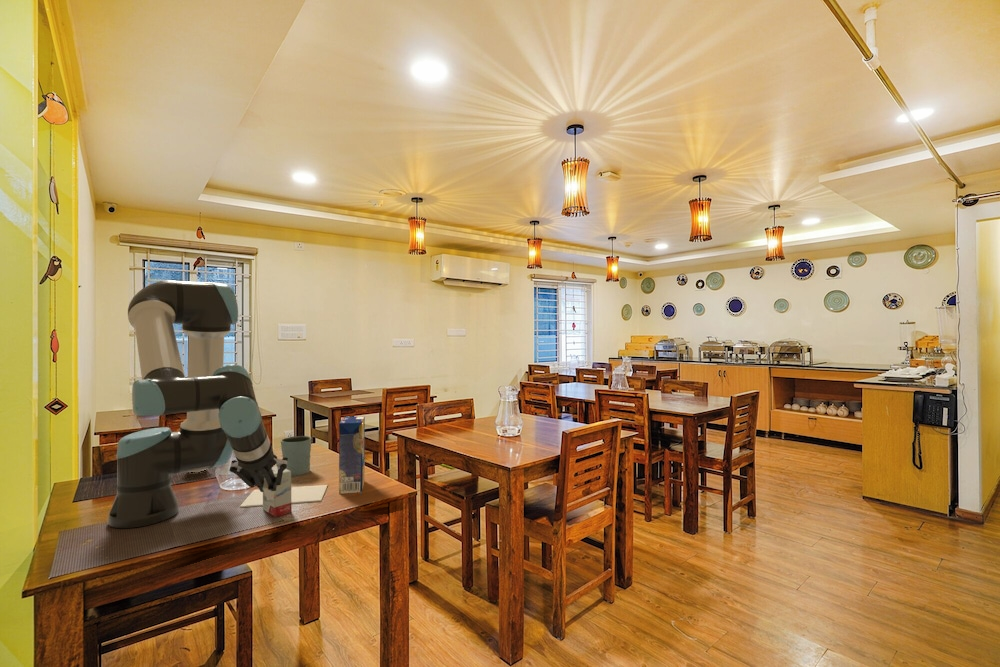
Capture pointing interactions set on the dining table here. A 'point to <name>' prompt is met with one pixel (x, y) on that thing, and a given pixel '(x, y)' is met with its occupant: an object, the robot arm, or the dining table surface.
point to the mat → (297, 495)
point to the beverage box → (351, 454)
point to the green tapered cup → (297, 454)
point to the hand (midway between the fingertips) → (271, 494)
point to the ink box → (279, 496)
